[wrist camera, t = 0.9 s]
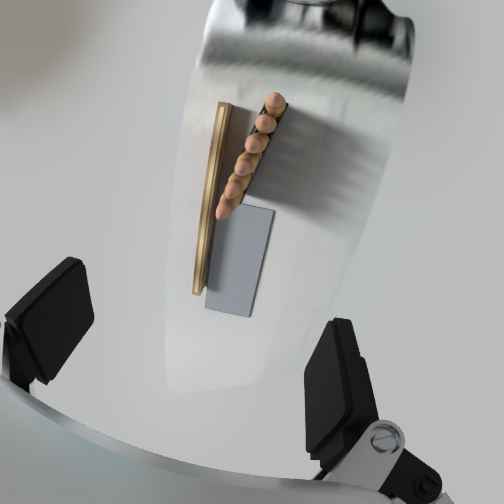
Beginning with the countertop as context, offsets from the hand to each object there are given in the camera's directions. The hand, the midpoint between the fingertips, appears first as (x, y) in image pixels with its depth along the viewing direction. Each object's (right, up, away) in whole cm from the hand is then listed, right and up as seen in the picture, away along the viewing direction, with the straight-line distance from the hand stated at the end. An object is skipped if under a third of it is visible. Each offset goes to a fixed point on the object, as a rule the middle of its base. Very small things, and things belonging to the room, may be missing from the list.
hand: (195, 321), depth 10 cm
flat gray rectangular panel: (0, +1, +24) cm, 24 cm away
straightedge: (-2, +8, +21) cm, 23 cm away
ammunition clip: (+3, +14, +18) cm, 23 cm away
